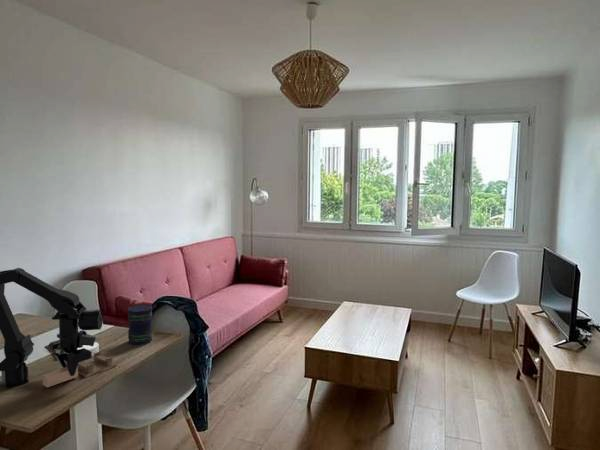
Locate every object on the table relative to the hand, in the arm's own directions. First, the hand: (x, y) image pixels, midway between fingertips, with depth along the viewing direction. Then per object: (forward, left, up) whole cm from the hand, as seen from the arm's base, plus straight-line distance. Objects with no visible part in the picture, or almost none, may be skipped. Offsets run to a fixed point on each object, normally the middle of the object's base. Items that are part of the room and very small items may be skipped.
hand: (70, 374), depth 141 cm
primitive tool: (+9, +29, -2) cm, 30 cm away
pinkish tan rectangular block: (-3, 0, -1) cm, 3 cm away
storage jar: (+36, +12, -2) cm, 38 cm away
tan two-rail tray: (+10, +2, -2) cm, 10 cm away
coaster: (+15, +18, -2) cm, 23 cm away
